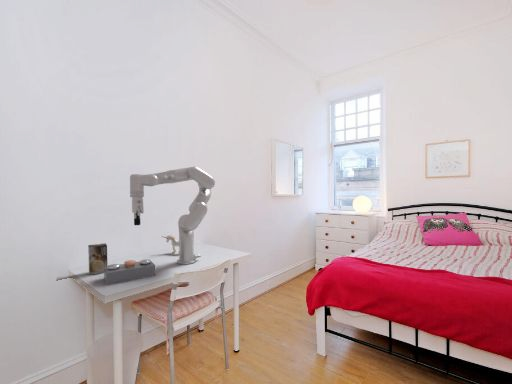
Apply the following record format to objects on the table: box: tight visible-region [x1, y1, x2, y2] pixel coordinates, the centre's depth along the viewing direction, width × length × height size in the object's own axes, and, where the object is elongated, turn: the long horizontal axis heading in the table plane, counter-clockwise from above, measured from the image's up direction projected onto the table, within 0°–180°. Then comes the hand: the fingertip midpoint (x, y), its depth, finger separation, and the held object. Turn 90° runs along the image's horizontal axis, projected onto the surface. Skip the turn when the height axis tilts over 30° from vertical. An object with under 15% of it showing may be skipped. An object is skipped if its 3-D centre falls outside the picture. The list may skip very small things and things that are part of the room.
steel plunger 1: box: [108, 263, 120, 270], centre depth 141 cm, size 6×6×6 cm
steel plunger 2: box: [139, 258, 152, 265], centre depth 150 cm, size 6×6×6 cm
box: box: [103, 260, 156, 285], centre depth 145 cm, size 24×12×6 cm, turn 125°
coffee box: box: [87, 242, 109, 276], centre depth 152 cm, size 9×6×16 cm
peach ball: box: [123, 259, 137, 268], centre depth 145 cm, size 6×6×6 cm
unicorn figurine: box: [161, 234, 179, 254], centre depth 195 cm, size 7×20×13 cm, turn 87°
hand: (137, 224), depth 157 cm, fingers closed
